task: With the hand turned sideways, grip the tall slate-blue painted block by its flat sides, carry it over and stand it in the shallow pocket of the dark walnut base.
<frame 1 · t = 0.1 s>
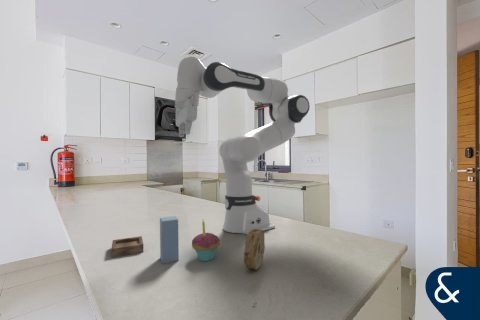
hand: (184, 135, 90), 39 cm above the worktop, tool pointing down, fingers open, 8 cm apart
bagel: (254, 267, 64), on the worktop
cupcake: (205, 258, 70), on the worktop
walnut base: (127, 249, 77), on the worktop
slate block: (169, 259, 70), on the worktop
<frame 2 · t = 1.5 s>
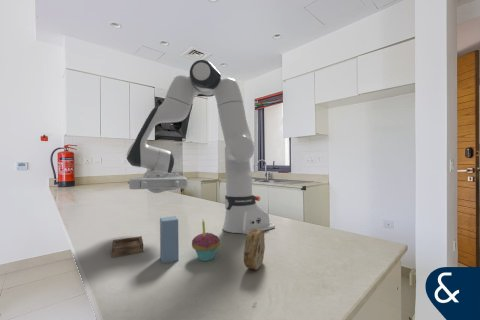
hand: (162, 185, 80), 21 cm above the worktop, tool horizontal, fingers open, 8 cm apart
nothing on the worktop moved.
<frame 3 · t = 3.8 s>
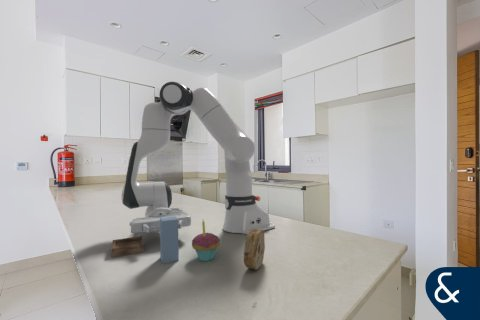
hand: (164, 228, 77), 7 cm above the worktop, tool horizontal, fingers open, 8 cm apart
nothing on the worktop moved.
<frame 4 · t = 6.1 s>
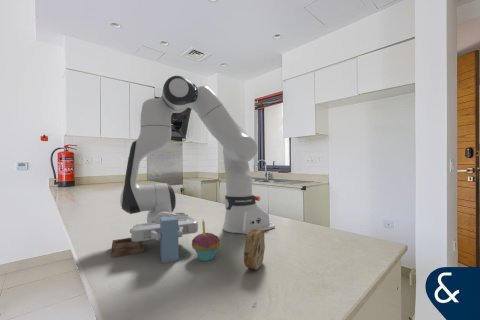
hand: (169, 236, 69), 7 cm above the worktop, tool horizontal, fingers closed on slate block, 4 cm apart
slate block: (169, 259, 70), on the worktop, touching gripper
everything else where it was.
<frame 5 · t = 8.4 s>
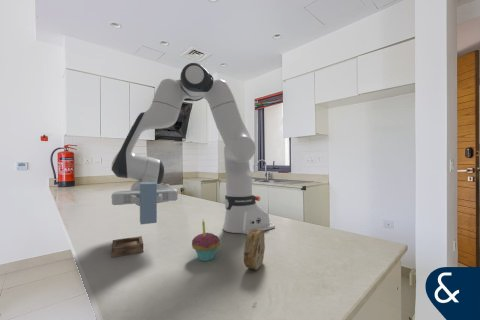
hand: (148, 199, 72), 17 cm above the worktop, tool horizontal, fingers closed on slate block, 4 cm apart
slate block: (148, 221, 73), point 10 cm above the worktop, touching gripper
everything else where it was.
when the fingers open (10 cm above the worktop, at t = 10.9 s): slate block drops 1 cm, resting on walnut base.
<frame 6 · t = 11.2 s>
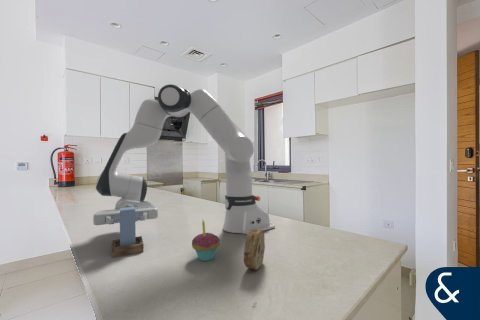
hand: (127, 220, 76), 10 cm above the worktop, tool horizontal, fingers open, 8 cm apart
slate block: (127, 245, 77), point 1 cm above the worktop, touching walnut base
everything else where it was.
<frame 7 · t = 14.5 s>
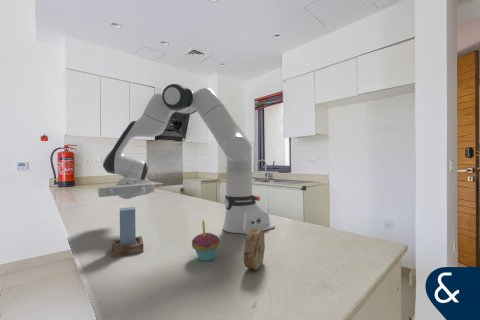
hand: (127, 191, 88), 18 cm above the worktop, tool horizontal, fingers open, 8 cm apart
nothing on the worktop moved.
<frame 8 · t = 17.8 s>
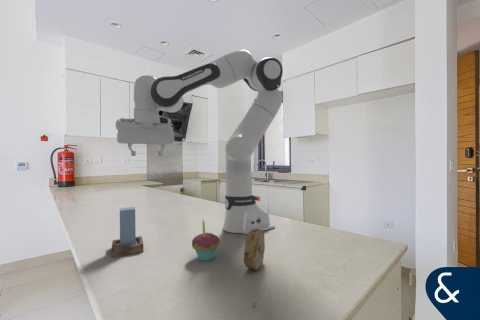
hand: (146, 155, 89), 31 cm above the worktop, tool pointing down, fingers open, 8 cm apart
nothing on the worktop moved.
at the end: slate block 0.0 cm off-centre on the walnut base, point 1.5 cm above the walnut base's base; slate block tilted 0°; the gripper is holding nothing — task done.
